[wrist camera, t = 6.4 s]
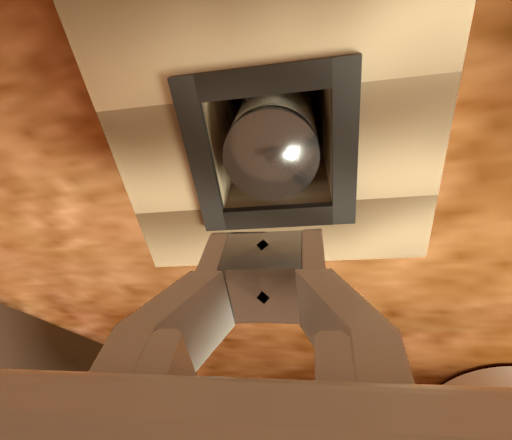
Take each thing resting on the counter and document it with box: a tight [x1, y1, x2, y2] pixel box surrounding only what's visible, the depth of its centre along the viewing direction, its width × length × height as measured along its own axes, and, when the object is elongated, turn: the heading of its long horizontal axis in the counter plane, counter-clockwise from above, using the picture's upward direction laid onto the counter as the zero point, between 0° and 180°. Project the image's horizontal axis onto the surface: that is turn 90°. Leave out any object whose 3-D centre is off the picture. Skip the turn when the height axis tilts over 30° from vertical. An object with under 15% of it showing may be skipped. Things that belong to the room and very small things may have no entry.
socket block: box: [53, 0, 476, 267], centre depth 15 cm, size 22×14×10 cm, turn 7°
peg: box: [223, 91, 320, 200], centre depth 18 cm, size 4×4×10 cm
